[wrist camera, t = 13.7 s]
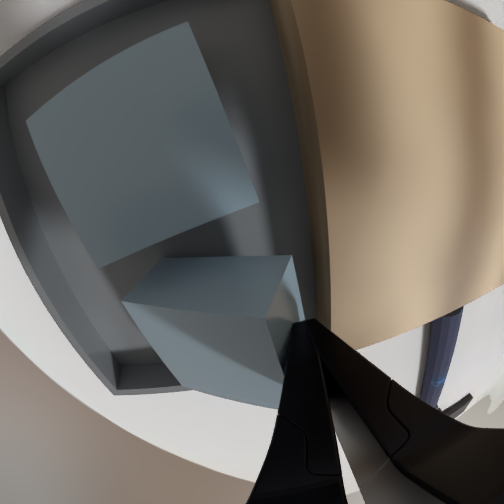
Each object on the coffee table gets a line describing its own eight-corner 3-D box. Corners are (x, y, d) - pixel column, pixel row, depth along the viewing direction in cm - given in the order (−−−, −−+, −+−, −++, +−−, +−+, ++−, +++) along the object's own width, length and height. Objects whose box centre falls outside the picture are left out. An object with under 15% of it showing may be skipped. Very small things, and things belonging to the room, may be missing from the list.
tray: (266, -21, 6) (276, -46, 4) (319, 332, 14) (330, 361, 12) (1, 82, 6) (-28, 83, 4) (120, 367, 13) (114, 395, 12)
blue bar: (466, 411, 28) (407, 451, 29) (460, 402, 30) (402, 441, 31) (534, 242, 12) (436, 330, 13) (516, 230, 14) (417, 307, 14)
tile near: (195, 45, 7) (188, 21, 4) (249, 179, 9) (259, 202, 7) (66, 115, 7) (25, 120, 5) (122, 233, 9) (98, 268, 7)
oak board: (507, 51, 6) (537, 53, 4) (501, 253, 13) (523, 271, 11) (266, -1, 6) (281, -31, 4) (314, 320, 13) (330, 357, 11)
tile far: (291, 255, 8) (264, 317, 6) (312, 358, 10) (296, 412, 8) (162, 258, 10) (121, 301, 8) (207, 345, 12) (182, 386, 11)
